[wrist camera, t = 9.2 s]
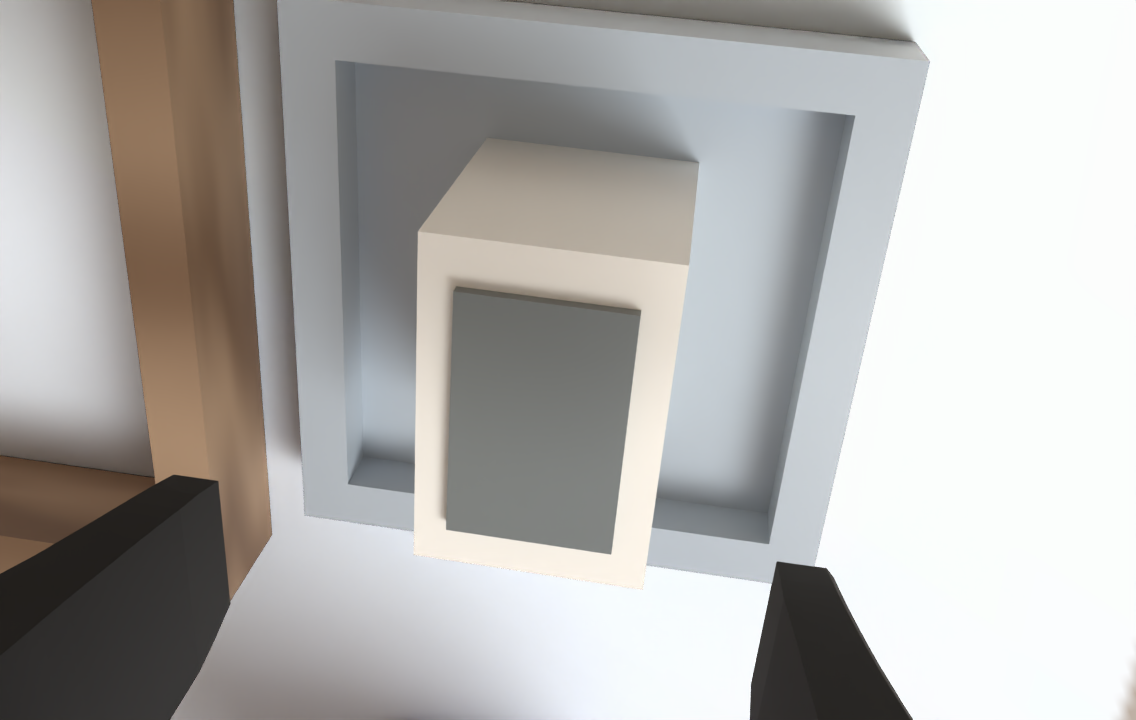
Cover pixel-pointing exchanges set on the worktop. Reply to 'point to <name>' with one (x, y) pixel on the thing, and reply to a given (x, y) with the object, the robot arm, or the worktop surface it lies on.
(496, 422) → the block
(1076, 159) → the worktop surface
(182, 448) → the open case
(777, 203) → the tray
